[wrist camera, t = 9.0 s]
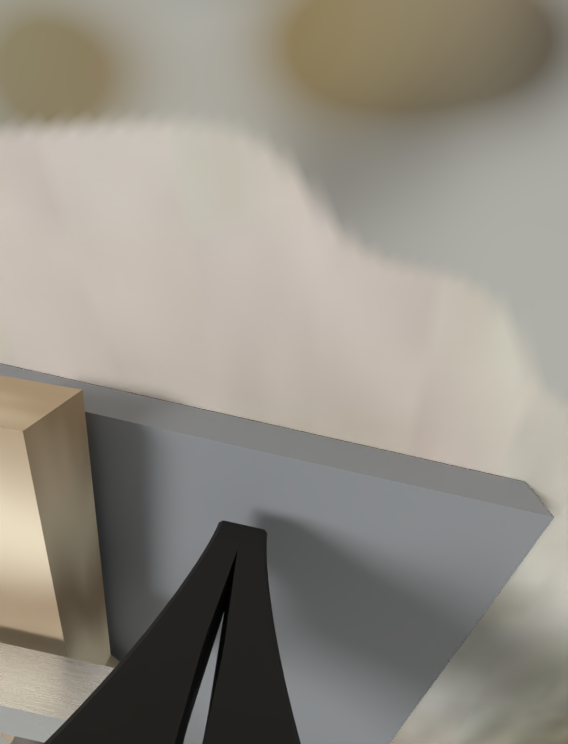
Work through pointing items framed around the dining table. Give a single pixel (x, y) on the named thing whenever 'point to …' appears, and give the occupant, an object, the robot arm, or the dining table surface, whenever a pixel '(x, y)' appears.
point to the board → (304, 549)
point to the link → (49, 527)
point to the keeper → (42, 690)
